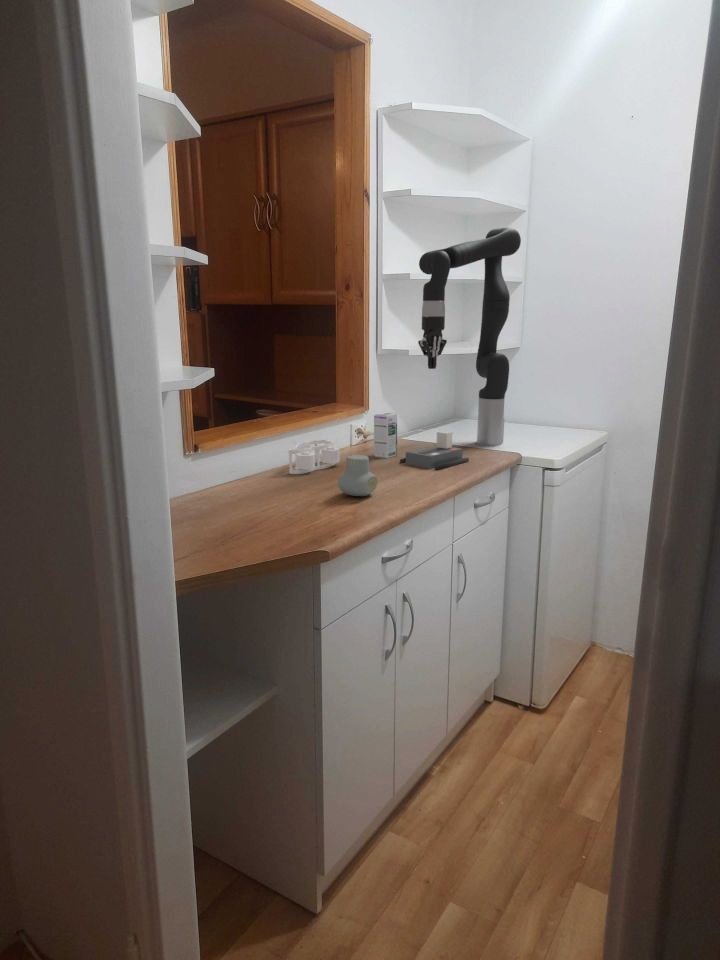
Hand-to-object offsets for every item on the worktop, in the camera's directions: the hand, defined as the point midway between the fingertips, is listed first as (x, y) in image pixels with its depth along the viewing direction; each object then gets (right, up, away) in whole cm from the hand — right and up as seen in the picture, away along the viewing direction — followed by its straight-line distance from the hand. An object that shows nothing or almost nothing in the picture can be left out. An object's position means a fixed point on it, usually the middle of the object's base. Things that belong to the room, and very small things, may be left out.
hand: (431, 368), depth 226 cm
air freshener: (-25, -41, -45) cm, 66 cm away
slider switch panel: (0, -32, -7) cm, 32 cm away
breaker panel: (0, -32, -7) cm, 32 cm away
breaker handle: (+3, -27, -5) cm, 27 cm away
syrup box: (-15, -29, +2) cm, 33 cm away
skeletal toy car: (-39, -34, -15) cm, 54 cm away
